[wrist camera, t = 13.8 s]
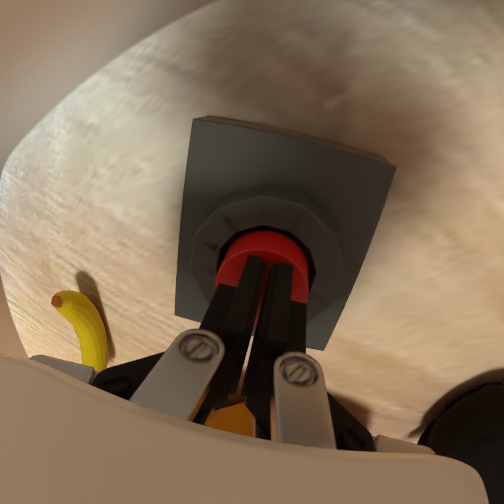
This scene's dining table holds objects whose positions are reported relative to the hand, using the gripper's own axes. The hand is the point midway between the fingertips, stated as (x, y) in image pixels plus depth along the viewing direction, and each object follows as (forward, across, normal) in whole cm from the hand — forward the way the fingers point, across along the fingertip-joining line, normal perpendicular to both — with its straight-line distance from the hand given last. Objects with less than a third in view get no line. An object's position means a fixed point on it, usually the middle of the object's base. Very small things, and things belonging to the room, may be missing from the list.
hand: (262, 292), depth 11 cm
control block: (+6, 0, 0) cm, 6 cm away
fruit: (+6, +12, +11) cm, 17 cm away
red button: (+2, 0, 0) cm, 2 cm away
